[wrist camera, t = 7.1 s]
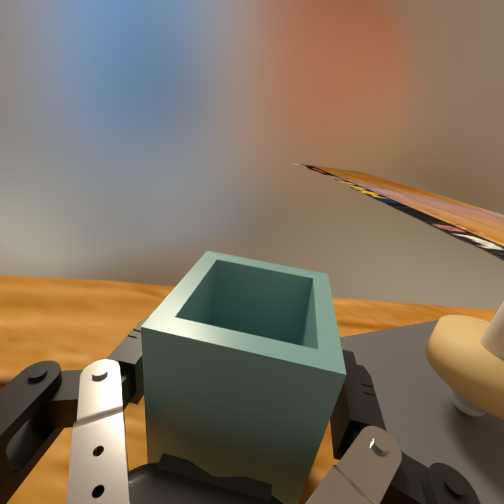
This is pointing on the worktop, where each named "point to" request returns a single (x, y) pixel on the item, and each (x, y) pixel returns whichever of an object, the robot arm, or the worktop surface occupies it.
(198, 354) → the sleeve
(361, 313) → the worktop surface
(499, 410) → the pipe stand
